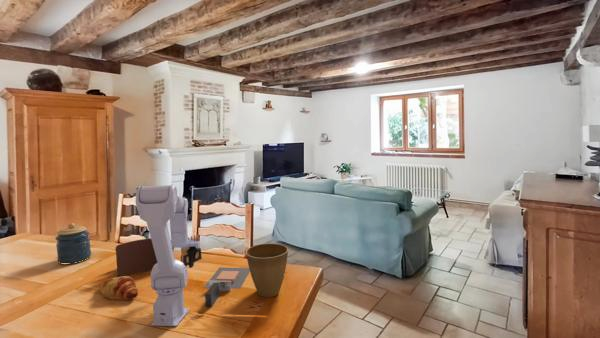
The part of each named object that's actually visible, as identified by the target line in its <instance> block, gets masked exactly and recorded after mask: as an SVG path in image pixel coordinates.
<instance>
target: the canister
mask: <svg viewBox="0 0 600 338" xmlns="http://www.w3.org/2000/svg"><path fill="white" fill-rule="evenodd" d="M56 234H57V236H55V241H56V245H55V247H56V251H57V252H56V253H57V258H56V259H57V262H58V263H59V262H60V263H75V262H79V261H82V260H85V259H87V258H89V257H90V256H91V257H92V250H91V242H90V241H91V239H90V238H89V237H90V236H89V235H90V231H88V230H87V227H86V226H83V225H76V224H75V223H74V222H70V223H69V224H68V225H67V226H66V227H62V228H60V230H59V231H57V232H56ZM91 257H90V258H91ZM90 258H89V259H90ZM87 260H88V259H87ZM85 261H86V260H85ZM79 263H80V262H79ZM75 264H76V263H75Z"/></svg>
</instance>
